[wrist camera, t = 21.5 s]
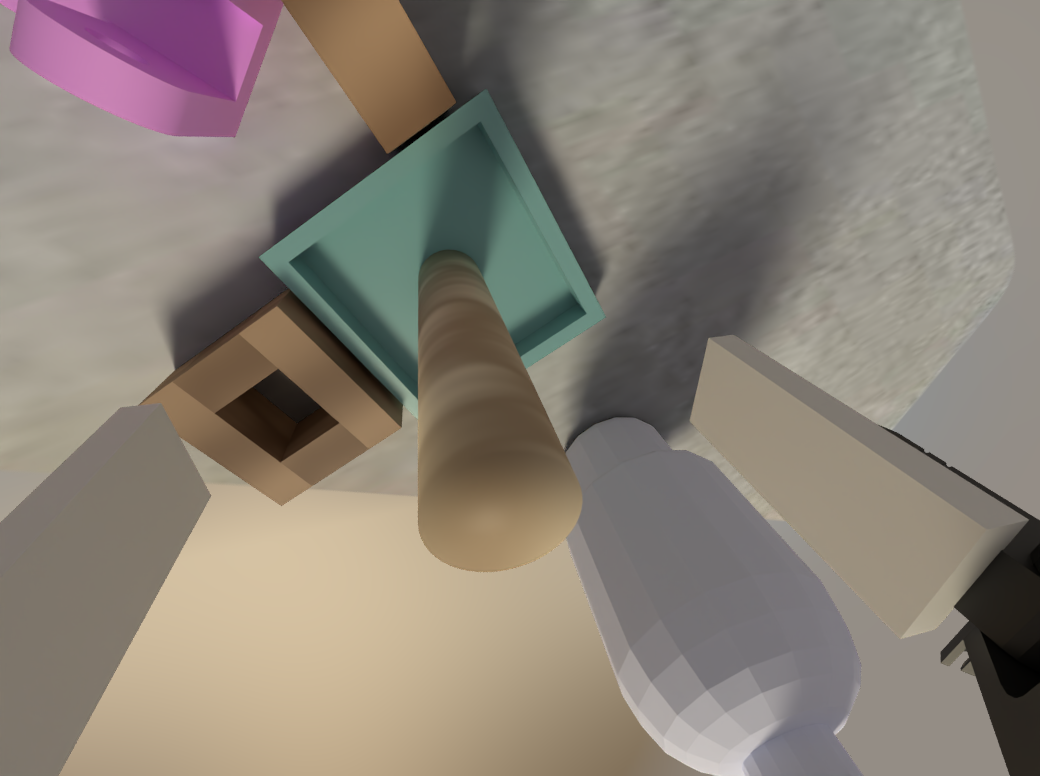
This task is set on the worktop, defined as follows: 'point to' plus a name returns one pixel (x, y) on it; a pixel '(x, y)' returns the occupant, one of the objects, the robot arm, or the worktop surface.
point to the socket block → (259, 423)
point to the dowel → (482, 432)
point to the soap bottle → (708, 612)
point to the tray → (438, 248)
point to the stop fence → (376, 63)
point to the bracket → (150, 56)
